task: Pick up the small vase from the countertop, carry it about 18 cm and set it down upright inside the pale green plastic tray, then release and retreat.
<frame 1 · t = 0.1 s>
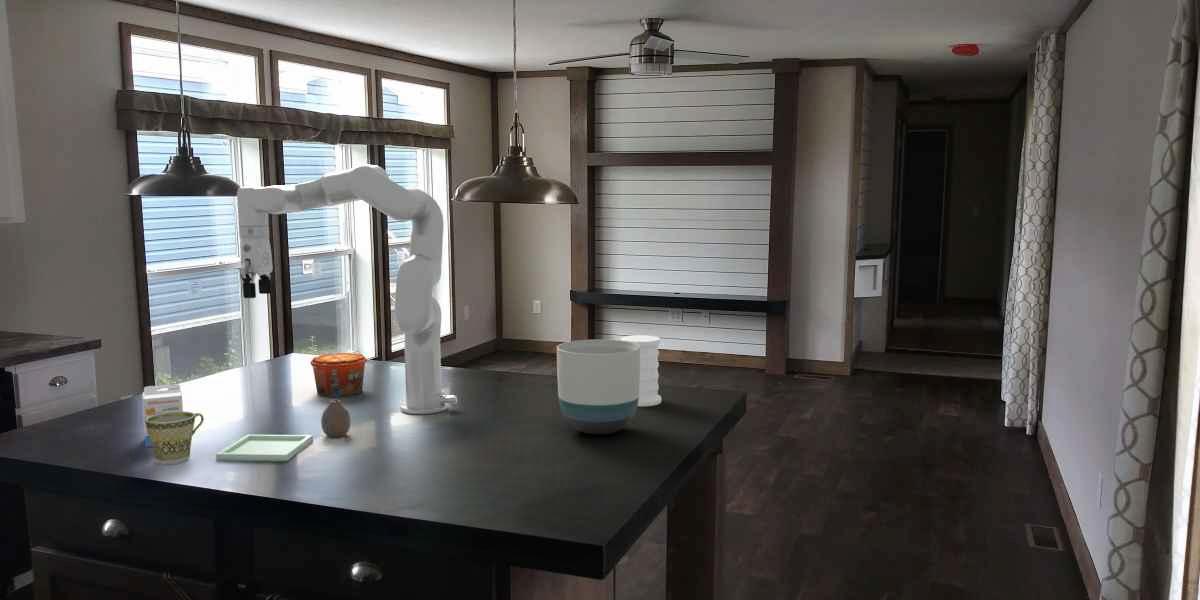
hand: (257, 295, 247), 31 cm above the worktop, fingers open, 9 cm apart
tray: (266, 450, 210), on the worktop
planter: (598, 432, 225), on the worktop
ceramic cup: (179, 459, 204), on the worktop
ink box: (164, 441, 219), on the worktop
vase: (336, 436, 222), on the worktop
food container: (340, 393, 269), on the worktop
decorative container: (640, 402, 256), on the worktop
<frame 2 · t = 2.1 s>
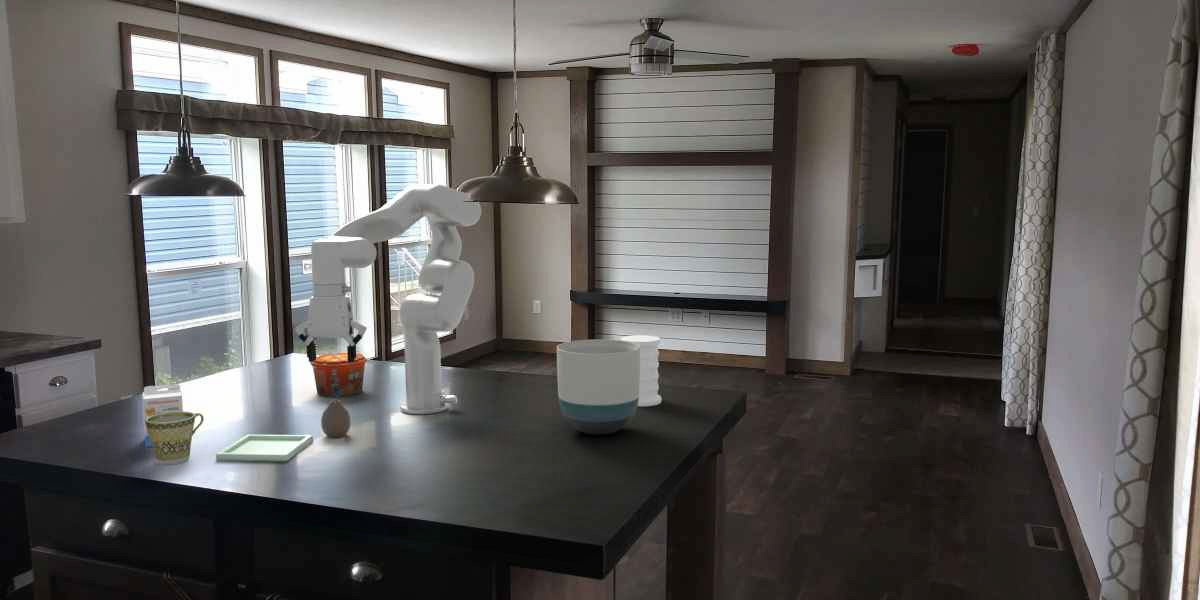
hand: (331, 361, 220), 19 cm above the worktop, fingers open, 9 cm apart
nothing on the worktop moved.
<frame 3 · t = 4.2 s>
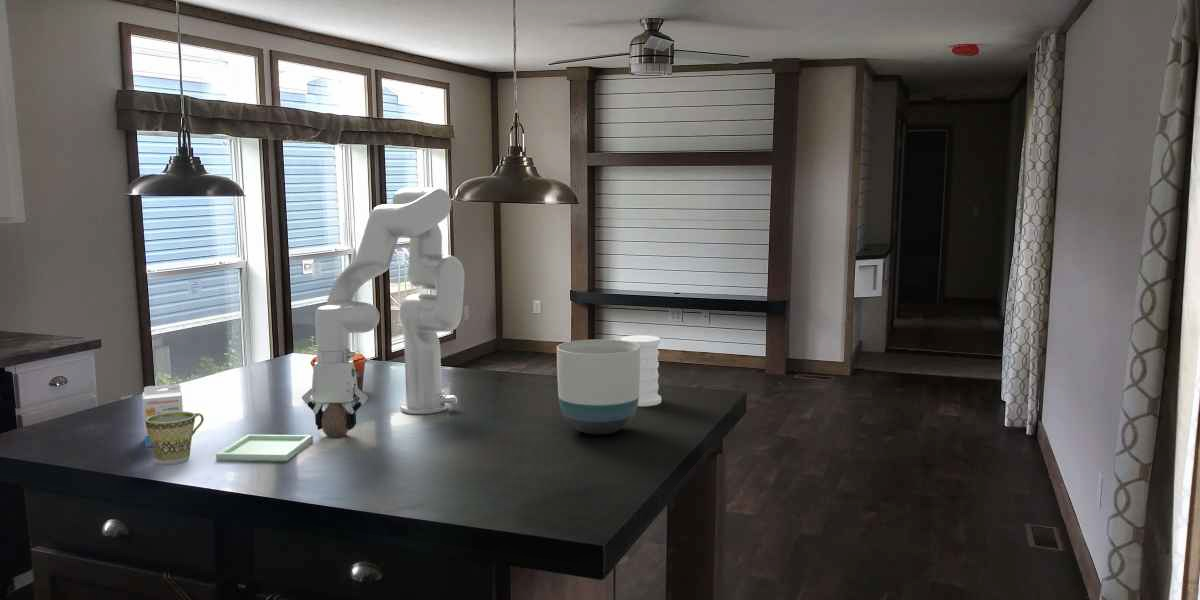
hand: (336, 427, 222), 2 cm above the worktop, fingers closed on vase, 6 cm apart
vase: (336, 436, 222), on the worktop, touching gripper
everything else where it was.
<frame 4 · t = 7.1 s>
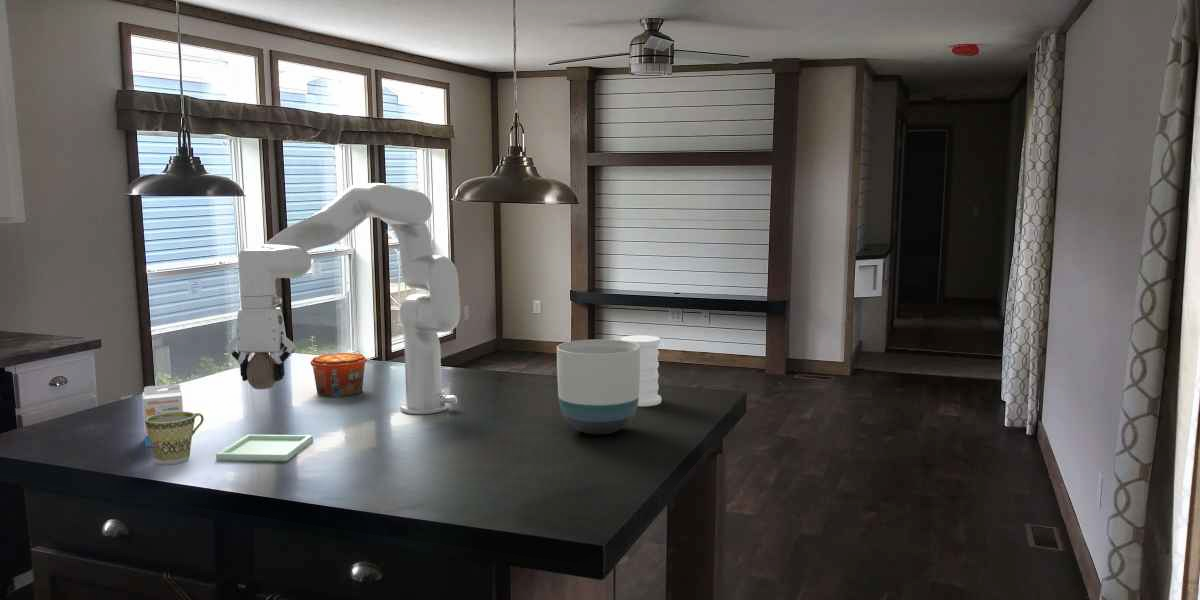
hand: (262, 379, 208), 17 cm above the worktop, fingers closed on vase, 6 cm apart
vase: (263, 388, 208), point 15 cm above the worktop, touching gripper
everything else where it was.
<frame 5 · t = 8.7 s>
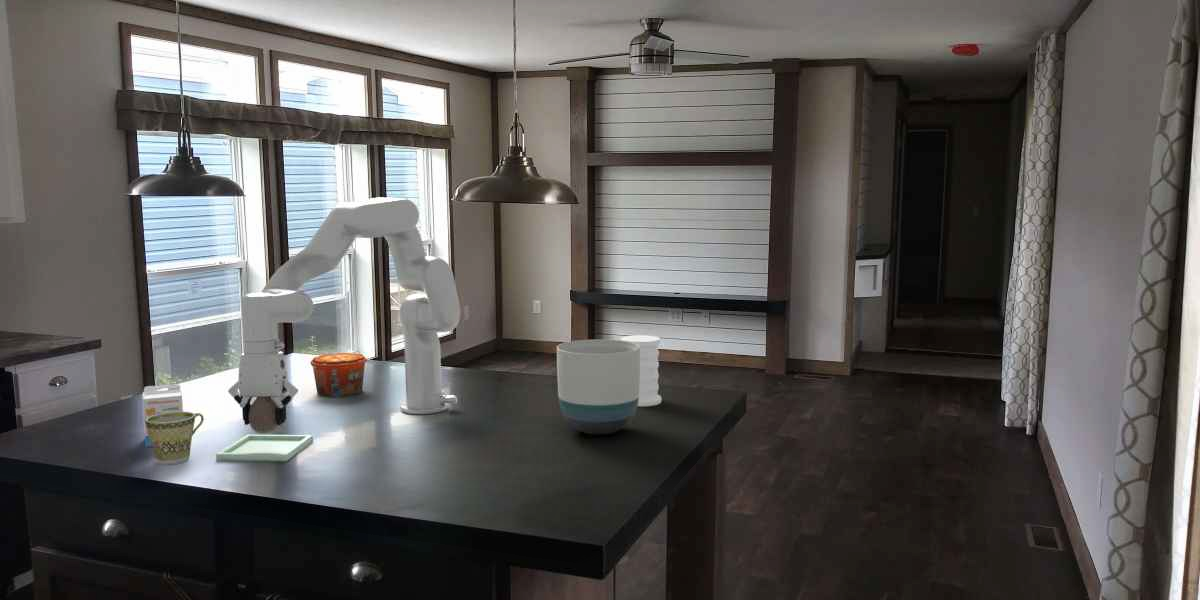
hand: (264, 422, 209), 7 cm above the worktop, fingers closed on vase, 6 cm apart
vase: (265, 432, 210), point 4 cm above the worktop, touching gripper
everything else where it was.
when the fingers open (4 cm above the worktop, at t = 9.9 s): vase drops 1 cm, resting on tray.
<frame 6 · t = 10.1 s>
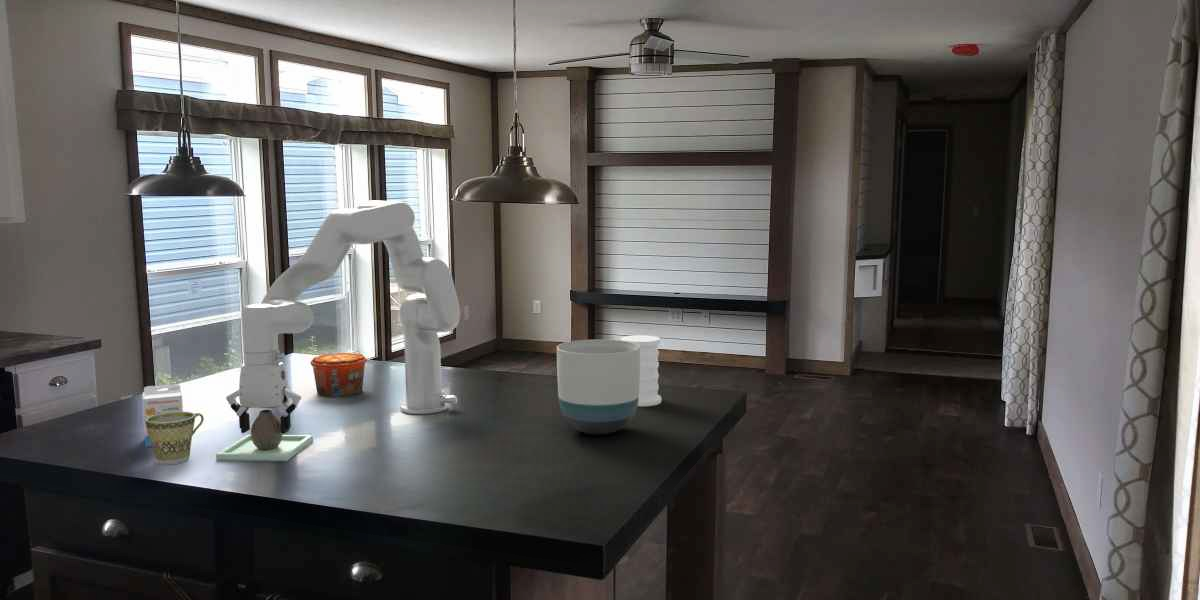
hand: (265, 431, 210), 4 cm above the worktop, fingers open, 9 cm apart
vase: (267, 448, 210), resting on tray
everything else where it was.
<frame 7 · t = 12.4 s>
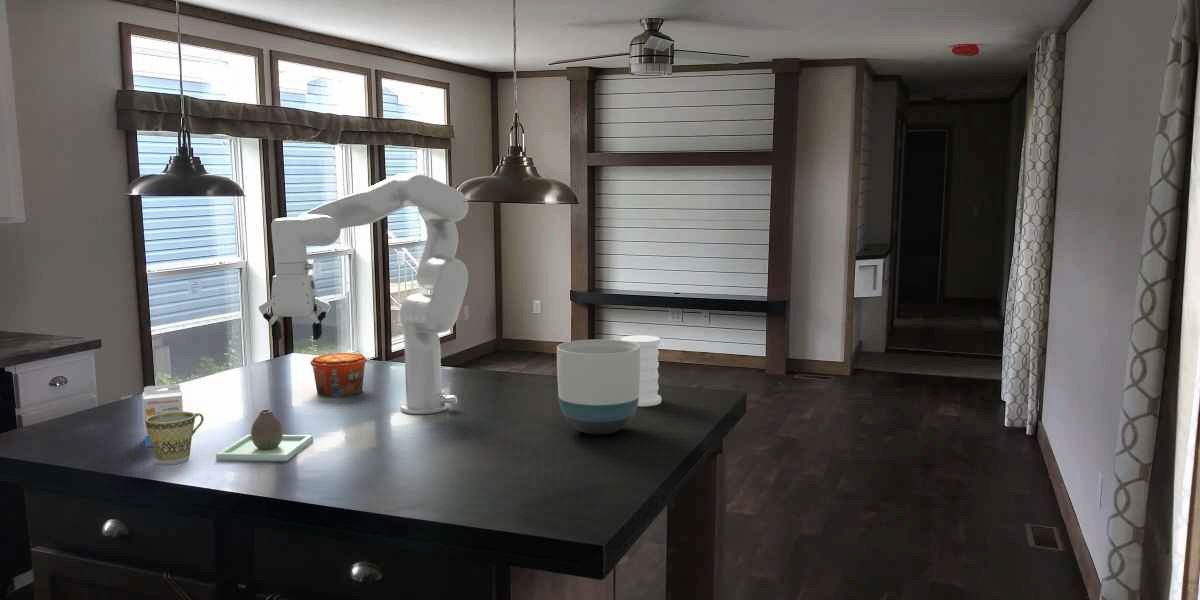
hand: (297, 339, 221), 24 cm above the worktop, fingers open, 9 cm apart
nothing on the worktop moved.
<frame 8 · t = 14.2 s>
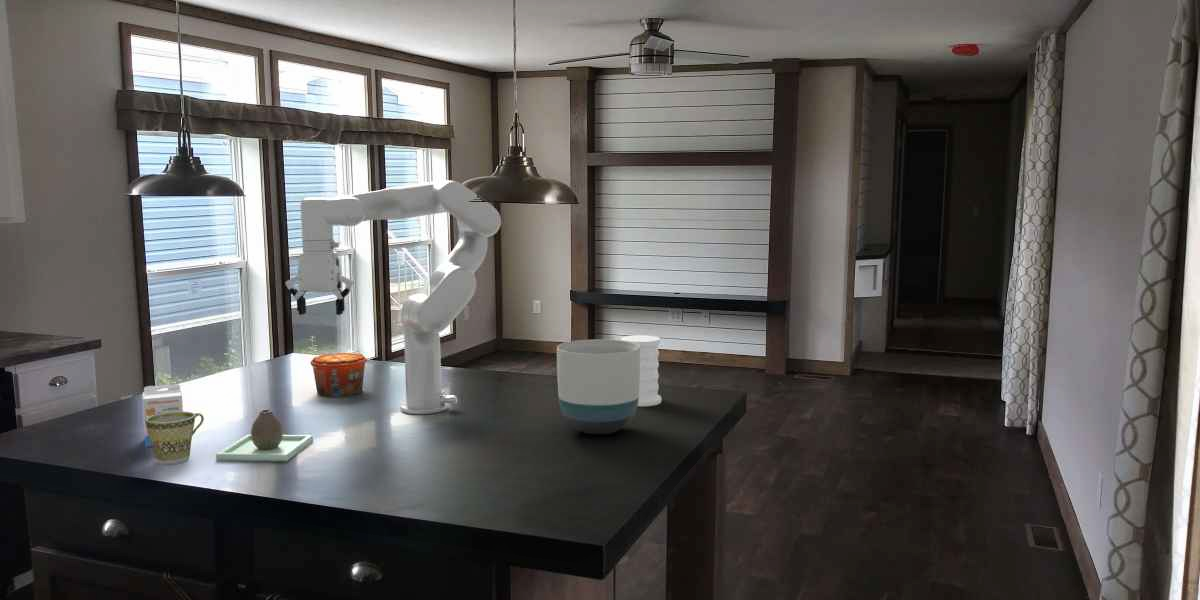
hand: (321, 314, 231), 28 cm above the worktop, fingers open, 9 cm apart
nothing on the worktop moved.
at the end: vase inside the target area on the tray (0.4 cm from its centre), point 0.4 cm above the tray's base; vase tilted 0°; the gripper is holding nothing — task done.
